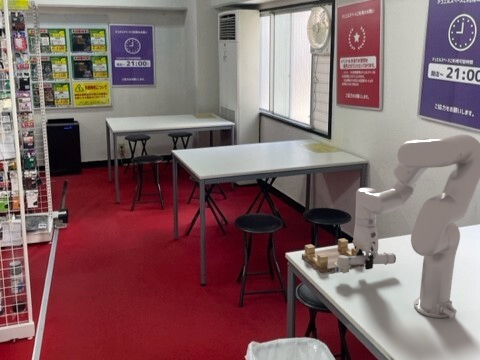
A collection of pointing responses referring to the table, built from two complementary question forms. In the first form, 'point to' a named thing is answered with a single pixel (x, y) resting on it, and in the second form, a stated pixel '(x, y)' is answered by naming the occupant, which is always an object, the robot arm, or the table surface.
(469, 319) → the table surface
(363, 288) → the table surface
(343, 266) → the electric toothbrush handle
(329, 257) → the rack
